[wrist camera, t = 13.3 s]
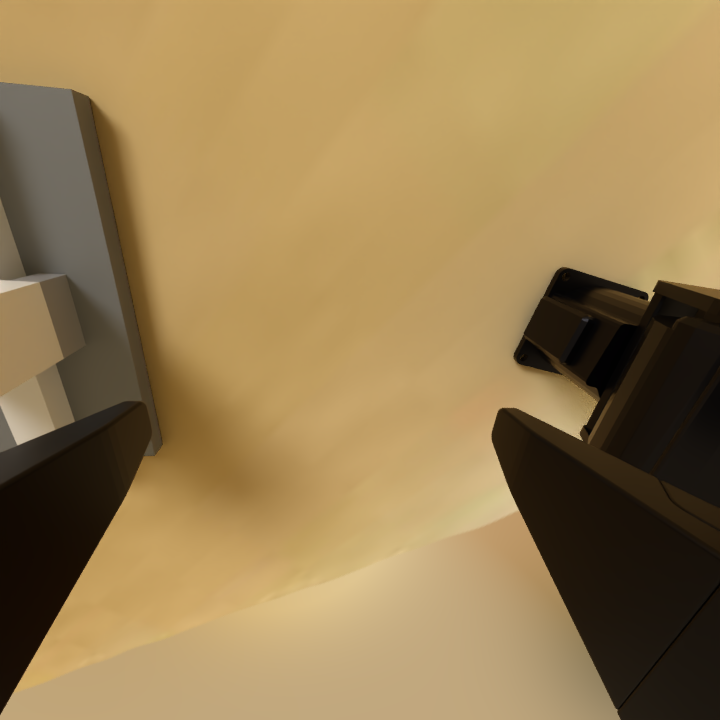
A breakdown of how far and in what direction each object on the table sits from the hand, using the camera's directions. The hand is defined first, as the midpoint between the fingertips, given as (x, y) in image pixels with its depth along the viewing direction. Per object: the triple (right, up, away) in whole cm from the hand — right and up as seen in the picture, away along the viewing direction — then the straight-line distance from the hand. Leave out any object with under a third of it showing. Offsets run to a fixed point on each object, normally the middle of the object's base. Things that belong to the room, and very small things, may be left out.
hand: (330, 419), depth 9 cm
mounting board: (-18, +5, +11) cm, 21 cm away
